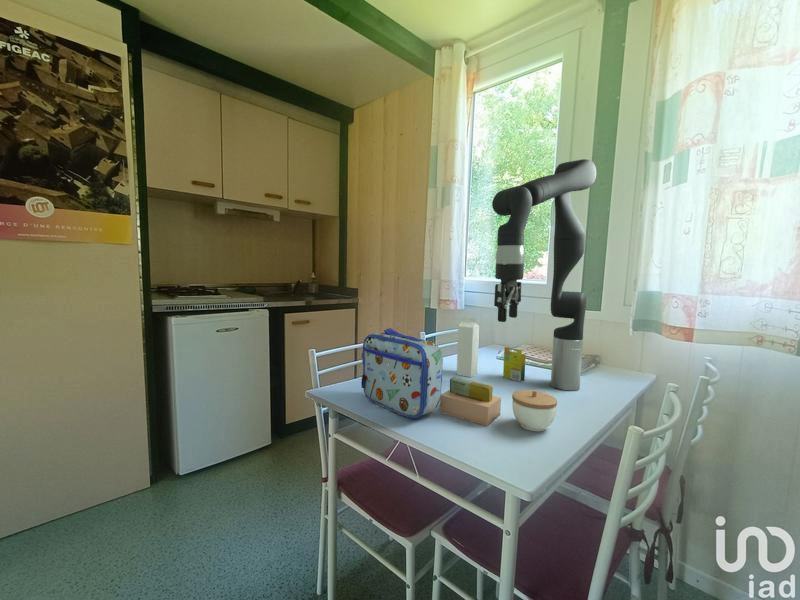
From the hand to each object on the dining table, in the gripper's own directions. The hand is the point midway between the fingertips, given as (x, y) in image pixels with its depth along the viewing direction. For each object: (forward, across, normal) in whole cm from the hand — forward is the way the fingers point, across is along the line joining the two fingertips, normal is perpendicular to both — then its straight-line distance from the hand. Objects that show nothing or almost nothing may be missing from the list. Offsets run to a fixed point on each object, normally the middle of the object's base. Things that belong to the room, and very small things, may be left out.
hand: (507, 319), depth 100 cm
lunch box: (+26, +20, -24) cm, 41 cm away
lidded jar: (+26, +8, +10) cm, 29 cm away
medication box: (+21, +11, -6) cm, 24 cm away
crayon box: (+27, -29, -8) cm, 40 cm away
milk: (+27, -22, -23) cm, 42 cm away
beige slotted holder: (+26, +11, -6) cm, 28 cm away
